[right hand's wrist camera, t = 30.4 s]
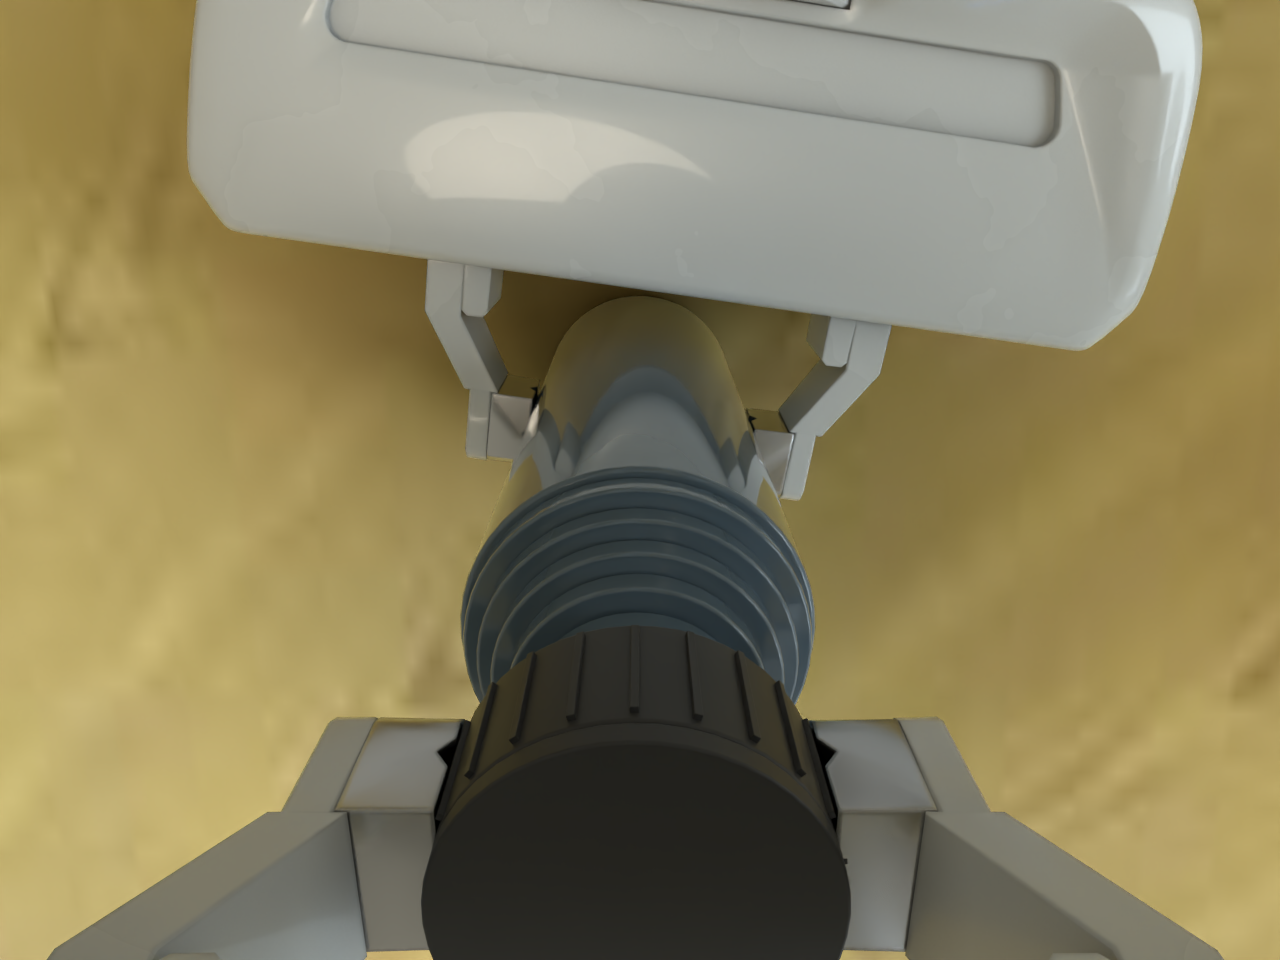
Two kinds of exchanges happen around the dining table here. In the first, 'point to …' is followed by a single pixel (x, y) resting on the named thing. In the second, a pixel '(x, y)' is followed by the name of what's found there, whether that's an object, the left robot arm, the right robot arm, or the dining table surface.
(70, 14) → the dining table surface
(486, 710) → the cap
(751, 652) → the bottle
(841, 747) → the right robot arm
